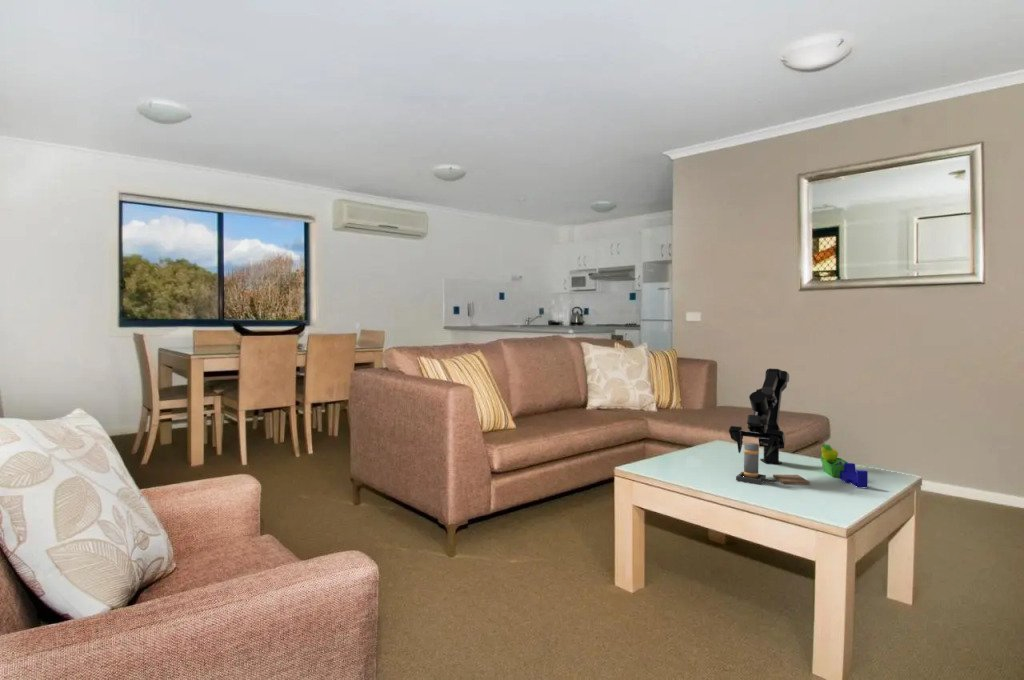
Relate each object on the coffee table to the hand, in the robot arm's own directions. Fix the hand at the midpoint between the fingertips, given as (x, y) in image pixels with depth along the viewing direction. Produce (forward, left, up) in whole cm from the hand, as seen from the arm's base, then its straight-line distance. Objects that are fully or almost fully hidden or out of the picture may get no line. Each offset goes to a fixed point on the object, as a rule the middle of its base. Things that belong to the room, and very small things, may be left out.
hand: (752, 454), depth 210 cm
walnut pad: (+1, +13, -9) cm, 16 cm away
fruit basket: (-9, +33, -10) cm, 36 cm away
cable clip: (+3, +34, -10) cm, 35 cm away
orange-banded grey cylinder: (+1, -1, -9) cm, 9 cm away
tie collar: (+2, +1, -9) cm, 10 cm away
